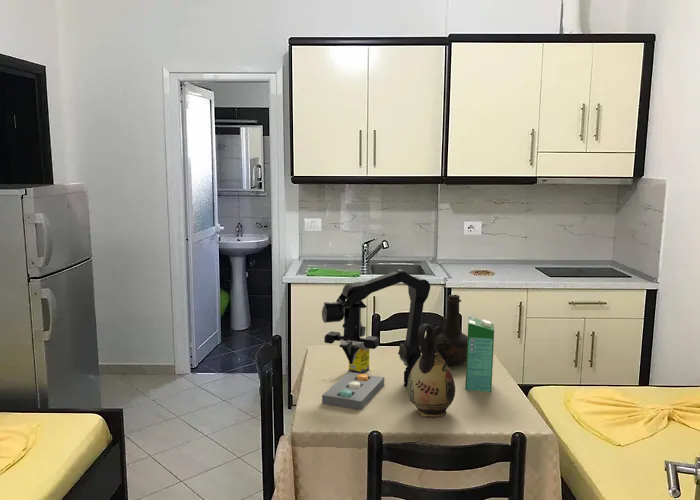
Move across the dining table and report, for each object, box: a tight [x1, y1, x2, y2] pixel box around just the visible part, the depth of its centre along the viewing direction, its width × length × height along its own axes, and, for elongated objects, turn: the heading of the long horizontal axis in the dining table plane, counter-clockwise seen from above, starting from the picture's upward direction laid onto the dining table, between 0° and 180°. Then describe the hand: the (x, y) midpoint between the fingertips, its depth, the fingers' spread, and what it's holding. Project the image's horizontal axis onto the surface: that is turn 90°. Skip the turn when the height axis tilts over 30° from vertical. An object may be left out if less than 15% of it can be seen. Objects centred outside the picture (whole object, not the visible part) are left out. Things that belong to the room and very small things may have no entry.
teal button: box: [340, 389, 352, 398], centre depth 203 cm, size 4×4×3 cm
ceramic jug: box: [406, 323, 456, 418], centre depth 194 cm, size 17×15×30 cm
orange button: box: [357, 373, 369, 381], centre depth 218 cm, size 4×4×3 cm
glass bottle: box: [435, 294, 468, 367], centre depth 242 cm, size 18×18×28 cm
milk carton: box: [465, 316, 495, 393], centre depth 217 cm, size 9×9×25 cm
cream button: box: [349, 382, 360, 389], centre depth 210 cm, size 4×4×3 cm
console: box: [321, 371, 385, 411], centre depth 210 cm, size 14×24×3 cm, turn 158°
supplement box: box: [348, 344, 370, 374], centre depth 234 cm, size 6×6×11 cm
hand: (351, 363), depth 211 cm, fingers closed
